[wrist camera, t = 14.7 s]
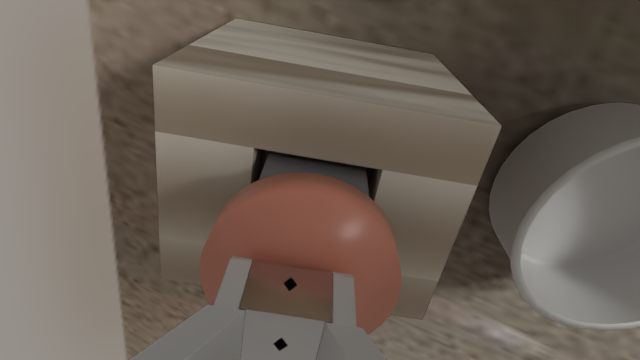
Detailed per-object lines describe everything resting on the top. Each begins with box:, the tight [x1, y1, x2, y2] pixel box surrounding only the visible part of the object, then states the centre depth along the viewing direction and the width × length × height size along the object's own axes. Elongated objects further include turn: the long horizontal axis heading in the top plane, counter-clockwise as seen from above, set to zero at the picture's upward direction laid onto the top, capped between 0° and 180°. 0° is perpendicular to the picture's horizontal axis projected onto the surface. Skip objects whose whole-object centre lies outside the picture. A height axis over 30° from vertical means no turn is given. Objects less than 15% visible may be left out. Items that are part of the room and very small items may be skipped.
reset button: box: [199, 151, 402, 334], centre depth 12 cm, size 5×5×4 cm
